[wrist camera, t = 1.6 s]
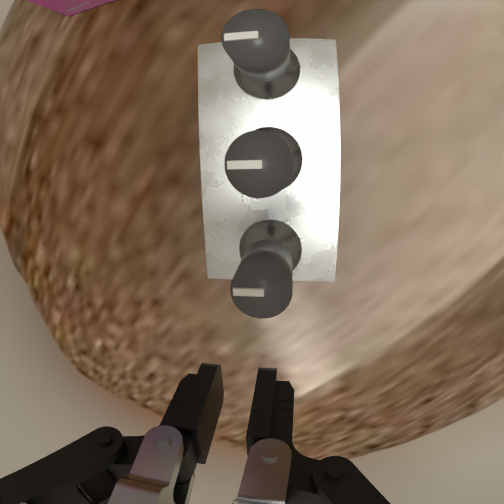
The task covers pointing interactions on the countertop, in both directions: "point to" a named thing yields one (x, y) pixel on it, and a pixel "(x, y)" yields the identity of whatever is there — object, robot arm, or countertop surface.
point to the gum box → (70, 5)
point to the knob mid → (259, 164)
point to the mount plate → (302, 147)
